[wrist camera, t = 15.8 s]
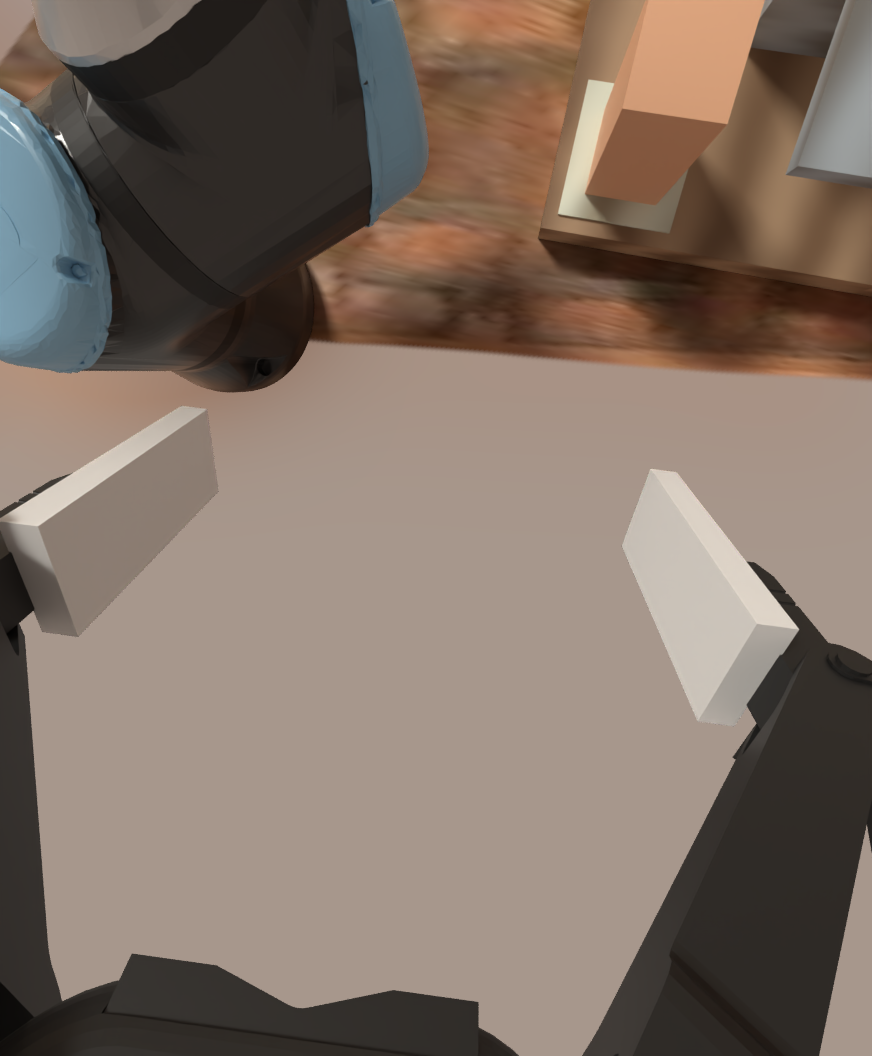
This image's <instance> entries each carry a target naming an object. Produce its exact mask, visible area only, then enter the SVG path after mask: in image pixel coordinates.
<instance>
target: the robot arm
mask: <svg viewBox="0 0 872 1056" xmlns="http://www.w3.org/2000/svg"><path fill="white" fill-rule="evenodd" d="M31 3H32V6H33V11H34V15H35V20H36V24H37V28H38V32H39V35H40V37H41V39H42V40H43V42H44V43H45V44H46V45H47V47H48V48H49V49H50V50H51V52H52V53H53V54H54V55H55V56H56V57H57V58H58V59H59V60H60V61H61V62H62V63H63V64H64V65H65V66H66V67H67V68H68V69H67V70H66V71H65V72H63V73H62V74H61V75H60V76H59V77H58V78H57V79H56V80H55V81H53V82H52V83H50V84H49V85H48V86H47V87H46V88H45V89H43V90H42V91H41V92H40V93H39V94H38V95H37V96H35V97H34V98H33V99H32V100H30V101H29V102H27V103H23V102H22V101H20V100H19V99H17V98H16V97H14V96H12V95H11V94H9V93H7V92H6V91H4V90H2V89H1V88H0V360H2V361H4V362H6V363H9V364H14V365H17V366H24V367H31V368H38V369H45V370H51V371H55V372H59V373H63V372H64V373H72V372H76V373H78V372H79V371H172V372H174V373H176V374H177V375H179V376H181V377H183V378H185V379H186V380H188V381H190V382H192V383H194V384H196V385H199V386H201V387H204V388H207V389H211V390H215V391H220V392H246V391H254V390H258V389H262V388H265V387H267V386H270V385H272V384H273V383H275V382H277V381H278V380H280V379H281V378H283V377H284V376H285V375H286V374H287V373H288V372H289V371H290V370H291V369H292V368H293V367H294V366H295V365H296V363H297V362H298V361H299V359H300V357H301V356H302V354H303V352H304V350H305V348H306V346H307V343H308V341H309V338H310V334H311V330H312V325H313V317H314V299H313V290H312V285H311V281H310V277H309V274H308V271H307V268H306V266H305V263H307V262H308V261H310V260H311V259H313V258H314V257H316V256H318V255H319V254H321V253H322V252H324V251H326V250H327V249H329V248H330V247H332V246H334V245H335V244H337V243H338V242H340V241H342V240H343V239H345V238H346V237H348V236H350V235H351V234H353V233H354V232H356V231H358V230H359V229H361V228H362V227H364V226H365V227H370V226H372V225H373V224H374V222H376V221H377V220H378V217H379V215H380V214H382V213H383V212H385V211H386V210H388V209H389V208H390V207H392V206H393V205H395V204H396V203H397V202H399V201H400V200H402V199H403V198H404V197H406V196H407V195H409V194H410V193H412V192H413V191H414V190H415V189H416V188H417V186H418V185H419V184H420V182H421V180H422V177H423V175H424V173H425V170H426V168H427V163H428V157H429V146H428V135H427V128H426V122H425V116H424V111H423V106H422V102H421V97H420V93H419V89H418V84H417V80H416V76H415V72H414V68H413V64H412V61H411V57H410V53H409V49H408V46H407V42H406V38H405V35H404V31H403V28H402V24H401V21H400V18H399V15H398V11H397V8H396V5H395V2H394V0H31ZM217 493H218V485H217V478H216V470H215V463H214V457H213V448H212V441H211V433H210V426H209V418H208V411H207V409H202V408H194V407H187V406H180V407H179V408H177V409H175V410H174V411H172V412H171V413H169V414H167V415H166V416H164V417H163V418H161V419H160V420H158V421H156V422H155V423H153V424H151V425H150V426H148V427H146V428H145V429H143V430H142V431H140V432H138V433H137V434H135V435H134V436H132V437H130V438H129V439H127V440H126V441H124V442H122V443H121V444H119V445H118V446H116V447H114V448H113V449H111V450H109V451H108V452H106V453H105V454H103V455H102V456H100V457H98V458H96V459H95V460H93V461H92V462H90V463H88V464H87V465H85V466H84V467H82V468H80V469H79V470H77V471H76V472H74V473H71V474H69V475H65V476H62V477H59V478H57V479H54V480H51V481H49V482H48V483H46V484H44V485H43V486H41V487H39V488H38V489H36V490H35V491H33V494H31V493H30V494H28V495H26V496H24V497H23V498H21V499H19V502H18V503H17V502H14V503H13V504H11V505H9V506H8V507H6V508H5V509H3V510H2V511H0V1056H519V1055H518V1054H516V1053H515V1052H514V1051H513V1050H512V1049H511V1048H510V1047H508V1046H507V1045H506V1044H504V1043H503V1042H501V1041H500V1040H499V1039H497V1038H496V1037H495V1036H493V1035H492V1034H490V1033H488V1032H486V1031H484V1030H482V1029H480V1028H479V1027H478V1002H474V1001H466V1000H459V999H452V998H445V997H437V996H431V995H424V994H417V993H410V992H402V991H395V990H392V991H387V992H382V993H378V994H373V995H368V996H363V997H359V998H353V999H349V1000H344V1001H339V1002H334V1003H329V1004H324V1005H319V1006H314V1007H309V1008H295V1007H292V1006H290V1005H287V1004H286V1003H284V1002H282V1001H280V1000H278V999H277V998H275V997H273V996H271V995H269V994H268V993H265V992H264V991H262V990H260V989H258V988H257V987H255V986H253V985H251V984H249V983H247V982H246V981H244V980H242V979H240V978H238V977H237V976H235V975H233V974H231V973H229V972H227V971H226V970H224V969H222V968H220V967H218V966H216V965H209V964H202V963H195V962H188V961H181V960H173V959H167V958H159V957H152V956H145V955H138V954H132V955H131V957H130V959H129V961H128V963H127V965H126V967H125V969H124V971H123V973H122V976H121V978H120V980H119V981H114V982H111V983H107V984H105V985H102V986H98V987H95V988H93V989H90V990H86V991H84V992H82V993H80V994H77V995H75V996H73V997H71V998H69V999H66V1000H64V1001H62V1000H61V995H60V990H59V987H58V984H57V981H56V977H55V974H54V971H53V968H52V965H51V960H50V955H49V949H48V940H47V926H46V913H45V899H44V887H43V873H42V860H41V846H40V833H39V820H38V807H37V793H36V780H35V768H34V754H33V740H32V728H31V714H30V701H29V689H28V675H27V662H26V649H25V636H24V634H23V631H22V629H21V627H20V625H19V622H21V621H22V620H23V619H24V618H25V617H26V616H27V615H29V614H30V613H31V612H32V611H34V613H35V615H36V618H37V620H38V623H39V625H40V628H41V630H42V632H46V633H53V634H61V635H69V636H76V637H79V636H80V635H81V634H82V632H83V631H84V630H85V629H86V628H87V627H88V626H89V625H90V624H91V623H92V622H93V621H94V620H95V619H96V618H97V617H98V616H99V615H100V614H101V613H102V612H103V611H104V610H105V609H106V608H107V606H108V605H110V603H111V602H112V601H113V600H114V599H115V598H116V597H117V596H118V595H119V594H120V593H121V592H122V591H123V590H124V589H125V588H126V587H127V586H128V585H129V584H130V583H131V582H132V581H133V580H134V579H135V577H137V576H138V574H139V573H140V572H141V571H142V570H143V569H144V568H145V567H146V566H147V565H148V564H149V563H150V562H151V561H152V560H153V559H154V558H155V557H156V556H157V555H158V553H160V552H161V551H162V550H163V549H164V548H165V546H166V545H167V544H168V543H169V542H170V541H171V540H172V539H173V538H174V537H175V536H176V535H177V534H178V533H179V532H180V531H181V530H182V529H183V528H184V527H185V526H186V525H187V524H188V523H189V522H190V520H192V518H193V517H194V516H195V515H196V514H197V513H198V512H199V511H200V510H201V509H202V508H203V507H204V506H205V505H206V504H207V503H208V502H209V501H210V500H211V499H212V498H213V497H214V496H215V495H216V494H217ZM622 548H623V550H624V553H625V555H626V557H627V559H628V562H629V564H630V566H631V569H632V571H633V574H634V576H635V578H636V580H637V583H638V585H639V587H640V590H641V592H642V594H643V596H644V599H645V601H646V604H647V606H648V608H649V610H650V613H651V615H652V617H653V619H654V622H655V624H656V627H657V629H658V631H659V633H660V636H661V638H662V640H663V643H664V645H665V647H666V649H667V652H668V654H669V656H670V659H671V661H672V663H673V666H674V668H675V670H676V673H677V675H678V677H679V680H680V682H681V684H682V686H683V688H684V691H685V693H686V696H687V698H688V700H689V702H690V705H691V707H692V709H693V712H694V714H695V716H696V718H697V721H698V722H705V723H713V724H719V725H727V726H735V724H736V723H737V722H738V720H739V719H740V717H741V716H742V714H743V713H744V711H745V710H746V708H747V707H748V709H749V710H750V712H751V714H752V716H753V718H754V719H755V721H756V723H757V724H756V725H755V727H754V728H753V729H752V731H751V732H750V734H749V735H748V736H747V738H746V739H745V741H744V742H743V744H742V745H741V746H740V748H739V749H738V751H737V752H736V753H735V755H734V756H733V758H734V759H736V760H735V762H734V765H733V766H732V768H731V770H730V772H729V774H728V776H727V778H726V780H725V782H724V784H723V786H722V788H721V790H720V792H719V794H718V796H717V798H716V800H715V802H714V804H713V806H712V808H711V810H710V811H709V814H708V815H707V817H706V819H705V821H704V824H703V825H702V827H701V829H700V831H699V833H698V835H697V837H696V839H695V841H694V843H693V845H692V847H691V849H690V851H689V853H688V855H687V857H686V859H685V860H684V863H683V864H682V866H681V868H680V870H679V872H678V874H677V876H676V878H675V880H674V882H673V884H672V886H671V888H670V890H669V892H668V894H667V896H666V898H665V900H664V902H663V904H662V906H661V908H660V910H659V912H658V913H657V915H656V917H655V919H654V921H653V924H652V925H651V927H650V929H649V931H648V933H647V935H646V937H645V939H644V941H643V943H642V945H641V947H640V949H639V951H638V953H637V955H636V957H635V959H634V961H633V963H632V965H631V966H630V968H629V970H628V972H627V974H626V976H625V978H624V980H623V982H622V984H621V986H620V988H619V990H618V992H617V994H616V996H615V998H614V1000H613V1002H612V1004H611V1006H610V1008H609V1010H608V1011H607V1014H606V1015H605V1017H604V1019H603V1021H602V1023H601V1025H600V1027H599V1029H598V1031H597V1032H596V1034H595V1036H594V1037H593V1039H592V1041H591V1042H590V1044H589V1046H588V1048H587V1049H586V1050H585V1052H584V1054H583V1055H582V1056H819V1053H820V1048H821V1043H822V1038H823V1034H824V1028H825V1023H826V1019H827V1014H828V1009H829V1005H830V1000H831V994H832V990H833V985H834V980H835V975H836V970H837V966H838V961H839V956H840V951H841V946H842V941H843V937H844V932H845V927H846V922H847V917H848V912H849V907H850V902H851V897H852V893H853V888H854V883H855V878H856V873H857V868H858V863H859V859H860V854H861V849H862V844H863V839H864V835H865V830H866V825H867V827H868V833H869V838H870V845H871V851H872V661H871V660H869V659H867V658H866V657H864V656H862V655H861V654H859V653H857V652H856V651H853V650H851V649H848V648H846V647H843V646H841V645H836V644H831V643H828V642H827V641H826V640H825V639H824V637H823V636H822V635H821V633H820V632H818V630H817V629H816V627H815V626H814V625H813V624H812V623H811V621H810V620H809V619H808V618H807V617H806V615H805V614H804V613H803V612H802V610H801V609H800V608H799V607H798V606H795V602H794V601H793V599H792V598H791V597H790V596H789V595H788V594H785V592H786V591H785V590H784V589H783V587H782V586H781V585H780V584H779V583H778V581H777V580H776V579H775V578H774V577H773V576H772V575H771V574H769V573H768V572H767V571H765V570H764V569H762V568H761V567H760V566H759V565H757V564H756V563H754V562H746V561H745V559H744V558H743V557H742V555H741V554H740V553H739V552H738V550H737V549H736V548H735V547H734V545H733V544H732V543H731V541H730V540H729V539H728V538H727V536H726V535H725V534H724V533H723V531H722V530H721V529H720V527H719V526H718V525H717V523H716V522H715V521H714V520H713V518H712V517H711V516H710V514H709V513H708V512H707V511H706V509H705V508H704V507H703V506H702V504H701V503H700V502H699V501H698V499H697V498H696V497H695V495H694V494H693V493H692V491H691V490H690V489H689V488H688V486H687V485H686V484H685V482H684V481H683V480H682V479H681V477H680V476H679V475H678V473H677V472H672V471H665V470H657V469H650V471H649V474H648V476H647V479H646V482H645V485H644V487H643V490H642V493H641V495H640V498H639V501H638V503H637V506H636V509H635V511H634V514H633V517H632V519H631V522H630V525H629V527H628V530H627V533H626V536H625V538H624V541H623V544H622Z"/></svg>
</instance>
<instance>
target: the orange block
mask: <svg viewBox="0 0 872 1056" xmlns="http://www.w3.org/2000/svg"><path fill="white" fill-rule="evenodd" d="M764 1H765V0H645V3H644V6H643V8H642V11H641V14H640V16H639V19H638V22H637V24H636V27H635V30H634V32H633V35H632V38H631V40H630V43H629V46H628V48H627V51H626V54H625V56H624V59H623V62H622V64H621V67H620V70H619V72H618V75H617V78H616V80H615V83H614V86H613V88H612V91H611V94H610V96H609V99H608V102H607V105H606V107H605V110H604V114H603V118H602V122H601V127H600V131H599V135H598V139H597V144H596V148H595V152H594V156H593V161H592V165H591V169H590V173H589V178H588V182H587V186H586V190H585V194H587V195H594V196H600V197H606V198H612V199H618V200H625V201H631V202H637V203H643V204H649V205H656V204H657V203H658V202H659V201H660V200H661V199H662V198H663V196H664V195H665V194H666V193H667V192H668V191H669V190H670V189H671V187H672V186H673V185H674V184H675V183H676V182H677V181H678V179H679V178H680V177H681V176H682V175H683V174H684V173H685V172H686V170H687V169H688V168H689V167H690V166H691V165H692V164H693V163H694V161H695V160H696V159H697V158H698V157H699V156H700V155H701V154H702V152H703V151H704V150H705V149H706V148H707V147H708V146H709V144H710V143H711V142H712V141H713V140H714V139H715V138H716V137H717V135H718V134H719V133H720V132H721V131H722V130H723V129H724V128H725V126H726V125H727V124H728V121H729V117H730V114H731V111H732V107H733V104H734V101H735V97H736V94H737V91H738V88H739V84H740V81H741V78H742V74H743V71H744V68H745V64H746V61H747V58H748V54H749V51H750V48H751V44H752V41H753V38H754V35H755V31H756V28H757V25H758V21H759V18H760V15H761V11H762V8H763V5H764Z"/></svg>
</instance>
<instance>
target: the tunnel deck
mask: <svg viewBox="0 0 872 1056" xmlns="http://www.w3.org/2000/svg"><path fill="white" fill-rule="evenodd" d="M644 3H645V0H591V1H590V6H589V10H588V14H587V19H586V23H585V28H584V33H583V37H582V42H581V46H580V51H579V55H578V60H577V64H576V69H575V73H574V78H573V82H572V87H571V91H570V96H569V100H568V105H567V110H566V114H565V119H564V123H563V128H562V132H561V137H560V141H559V146H558V150H557V155H556V159H555V164H554V168H553V173H552V177H551V182H550V187H549V191H548V196H547V200H546V205H545V209H544V214H543V218H542V223H541V227H540V232H539V236H538V238H539V239H545V240H551V241H556V242H562V243H568V244H573V245H579V246H585V247H591V248H596V249H602V250H608V251H613V252H619V253H625V254H631V255H636V256H642V257H648V258H653V259H659V260H665V261H670V262H676V263H682V264H688V265H693V266H699V267H705V268H710V269H716V270H722V271H727V272H733V273H739V274H745V275H750V276H756V277H762V278H767V279H773V280H779V281H785V282H790V283H796V284H802V285H807V286H813V287H819V288H824V289H830V290H836V291H842V292H847V293H853V294H859V295H864V296H870V297H872V0H765V1H764V5H763V8H762V11H761V15H760V18H759V21H758V25H757V28H756V31H755V35H754V38H753V41H752V44H751V48H750V51H749V54H748V58H747V61H746V64H745V68H744V71H743V74H742V78H741V81H740V84H739V88H738V91H737V94H736V97H735V101H734V104H733V107H732V111H731V114H730V117H729V121H728V124H727V125H726V126H725V128H724V129H723V130H722V131H721V132H720V133H719V134H718V135H717V137H716V138H715V139H714V140H713V141H712V142H711V143H710V144H709V146H708V147H707V148H706V149H705V150H704V151H703V152H702V154H701V155H700V156H699V157H698V158H697V159H696V160H695V161H694V163H693V164H692V165H691V166H690V167H689V168H688V169H687V170H686V172H685V173H684V174H683V175H682V176H681V177H680V178H679V179H678V181H677V182H676V183H675V184H674V185H673V186H672V187H671V189H670V190H669V191H668V192H667V193H666V194H665V195H664V196H663V198H662V199H661V200H660V201H659V202H658V203H657V204H656V205H649V204H643V203H637V202H631V201H625V200H618V199H612V198H606V197H600V196H594V195H587V194H585V190H586V186H587V182H588V178H589V173H590V169H591V165H592V161H593V156H594V152H595V148H596V144H597V139H598V135H599V131H600V127H601V122H602V118H603V114H604V110H605V107H606V105H607V102H608V99H609V96H610V94H611V91H612V88H613V86H614V83H615V80H616V78H617V75H618V72H619V70H620V67H621V64H622V62H623V59H624V56H625V54H626V51H627V48H628V46H629V43H630V40H631V38H632V35H633V32H634V30H635V27H636V24H637V22H638V19H639V16H640V14H641V11H642V8H643V6H644Z"/></svg>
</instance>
